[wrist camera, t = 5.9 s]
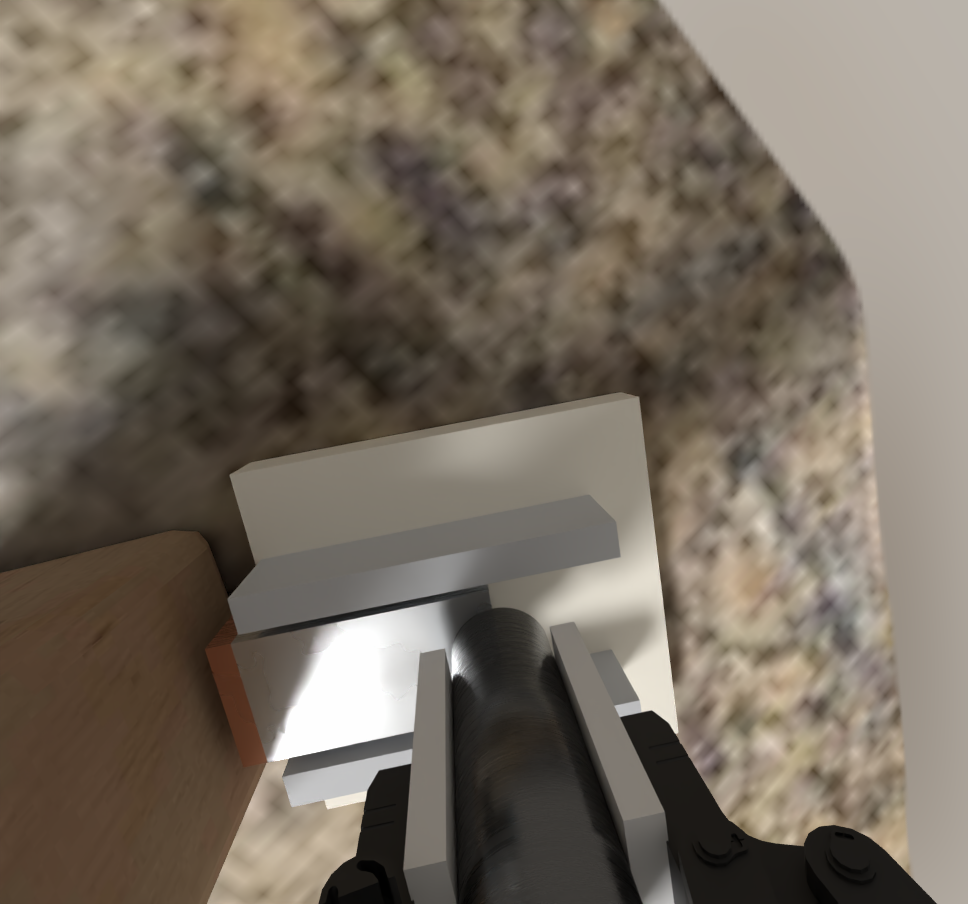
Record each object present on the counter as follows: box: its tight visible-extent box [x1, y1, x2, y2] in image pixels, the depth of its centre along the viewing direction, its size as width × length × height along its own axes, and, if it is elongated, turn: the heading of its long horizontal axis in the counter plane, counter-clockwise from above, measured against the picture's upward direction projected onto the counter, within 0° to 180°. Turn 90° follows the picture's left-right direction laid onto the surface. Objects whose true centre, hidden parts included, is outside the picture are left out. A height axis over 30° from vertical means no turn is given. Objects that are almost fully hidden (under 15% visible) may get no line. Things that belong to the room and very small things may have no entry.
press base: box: [227, 392, 678, 809], centre depth 19 cm, size 14×14×5 cm
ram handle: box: [205, 584, 643, 904], centre depth 13 cm, size 4×11×12 cm, turn 100°
